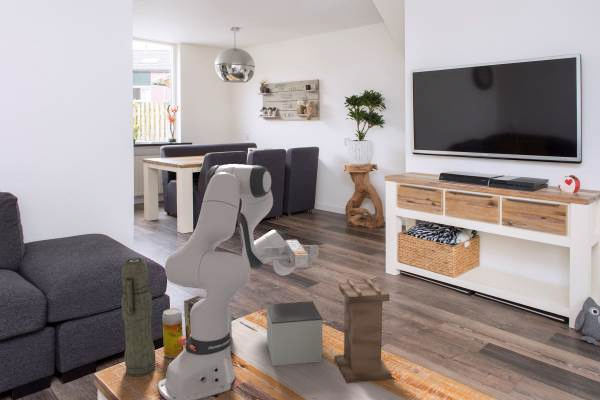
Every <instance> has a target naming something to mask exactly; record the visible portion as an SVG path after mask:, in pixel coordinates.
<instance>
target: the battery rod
mask: <svg viewBox="0 0 600 400" xmlns="http://www.w3.org/2000/svg"><path fill="white" fill-rule="evenodd" d="M286 245H287V248H288V250H287V251H286V253H287V254H288V256H289V258H290V259H291V261H292V263H293V265H294V266H295V269H297V268H308V267H309V265H308V254H307V252H306V251H305V250H304V249H303V247H302V246H301V245H302V244H301V243H300V242H299V241H298V239H289V240H286Z"/></svg>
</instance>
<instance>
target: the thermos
mask: <svg viewBox="0 0 600 400" xmlns="http://www.w3.org/2000/svg"><path fill="white" fill-rule="evenodd" d="M149 279H150V278H149V268H148V265H147V262H146V260H145V259H143V258H141V257H140V258H139V257H136V258H135V257H134V258H129V259H126V260H125V261H123V263H122V268H121V285H122V289H123V290H122V297H121V301H120V303H121V316H122V318H121V319H122V320H123V321H124V322H123V323H124V336H125V337H124V338H125V350H124V363H125V364H124V365H125V372H126V374H127V375H128V376H131V377H143V376H146V375H149V374H151V373H153V372H154V370H156V350H155V345H154V342H153V341H154V340H153V327H152V326H153V325H152V316H153V314H154V313H153V297H152V295H151V292H150V288H149V285H150V282H149V281H150V280H149Z"/></svg>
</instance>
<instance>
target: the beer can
mask: <svg viewBox="0 0 600 400" xmlns="http://www.w3.org/2000/svg"><path fill="white" fill-rule="evenodd" d="M182 317H183V315H182V312H181V310H180V309H179V308H168V309H165V310H164V311H163V314H162V317H161V318H162V332H163V333H162V335H163V337H162V338H163V352H164V356H166V358H169V359H175V358H176V357H177V356H178V355H179V354H180V353H181V352H182V351H183V350H184V345H182V344H181V343H179V339H180V337H182V336H183V335H184V334H183V318H182ZM183 337H184V336H183Z"/></svg>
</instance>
